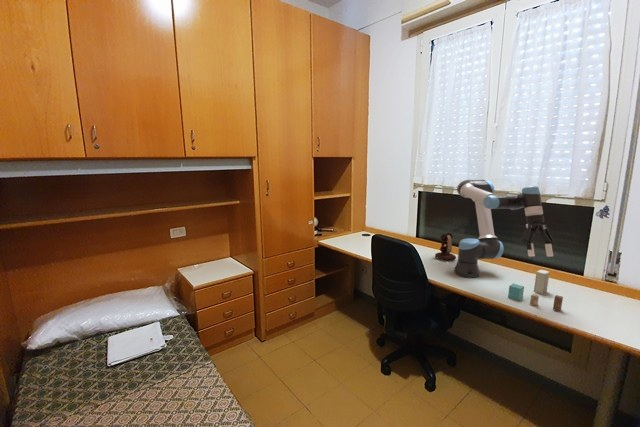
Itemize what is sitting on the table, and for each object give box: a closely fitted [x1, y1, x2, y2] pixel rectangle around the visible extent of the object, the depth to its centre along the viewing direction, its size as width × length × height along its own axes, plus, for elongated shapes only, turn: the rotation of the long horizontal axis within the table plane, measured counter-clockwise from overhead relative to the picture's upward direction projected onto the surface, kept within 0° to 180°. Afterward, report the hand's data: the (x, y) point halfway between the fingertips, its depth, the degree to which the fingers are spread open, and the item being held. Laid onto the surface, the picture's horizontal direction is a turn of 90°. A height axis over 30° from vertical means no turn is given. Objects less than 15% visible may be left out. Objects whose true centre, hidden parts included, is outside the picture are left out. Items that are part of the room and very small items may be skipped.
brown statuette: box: [434, 232, 457, 262], centre depth 223 cm, size 15×15×20 cm
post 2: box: [552, 294, 564, 312], centre depth 146 cm, size 3×3×7 cm
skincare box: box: [533, 269, 550, 295], centre depth 166 cm, size 6×4×12 cm
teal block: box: [507, 283, 525, 301], centre depth 159 cm, size 5×5×7 cm
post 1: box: [529, 293, 539, 307], centre depth 152 cm, size 3×3×5 cm
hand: (541, 256), depth 148 cm, fingers open, 13 cm apart
